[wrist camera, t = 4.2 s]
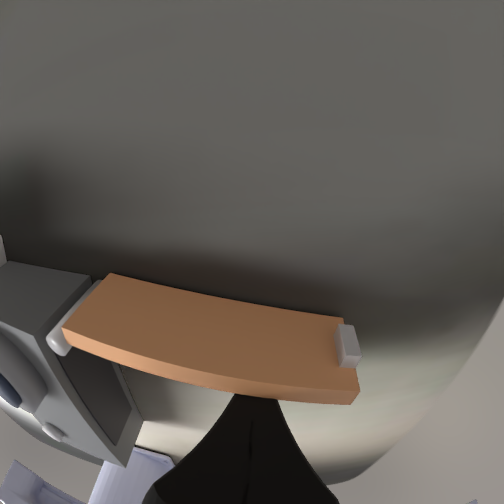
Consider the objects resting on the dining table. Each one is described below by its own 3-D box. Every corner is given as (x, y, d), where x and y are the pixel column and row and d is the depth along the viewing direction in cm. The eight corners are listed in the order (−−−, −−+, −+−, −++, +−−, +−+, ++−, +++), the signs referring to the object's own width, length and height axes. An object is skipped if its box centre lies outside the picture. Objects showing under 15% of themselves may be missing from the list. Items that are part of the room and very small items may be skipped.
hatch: (96, 295, 12) (50, 350, 8) (90, 256, 11) (34, 308, 7) (331, 343, 12) (343, 419, 8) (347, 306, 11) (369, 384, 7)
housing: (145, 421, 17) (120, 489, 12) (72, 396, 18) (42, 450, 12) (92, 275, 11) (9, 368, 6) (9, 260, 12) (-59, 318, 6)
